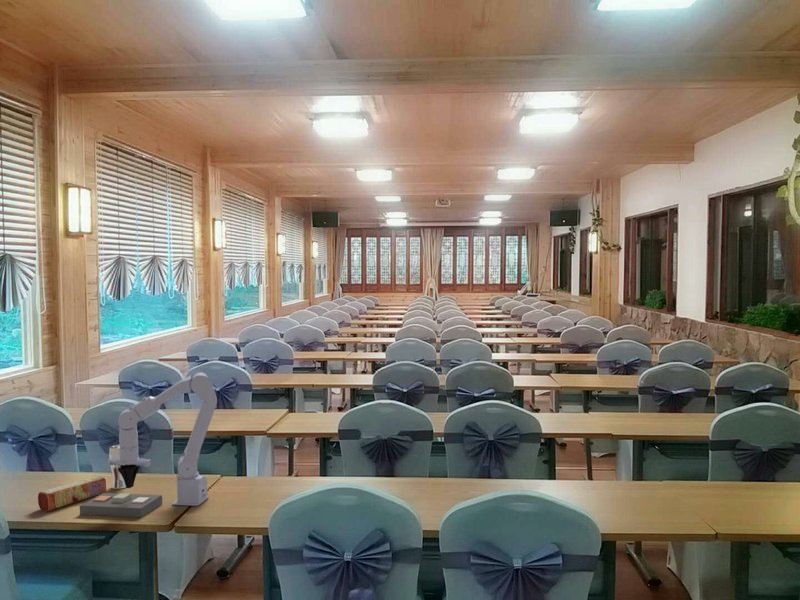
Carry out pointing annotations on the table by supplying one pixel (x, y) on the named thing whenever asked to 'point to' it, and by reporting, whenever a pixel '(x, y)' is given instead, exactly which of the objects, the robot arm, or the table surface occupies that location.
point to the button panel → (121, 506)
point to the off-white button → (140, 500)
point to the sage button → (121, 498)
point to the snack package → (71, 493)
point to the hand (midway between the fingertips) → (129, 487)
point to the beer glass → (116, 469)
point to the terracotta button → (102, 499)
